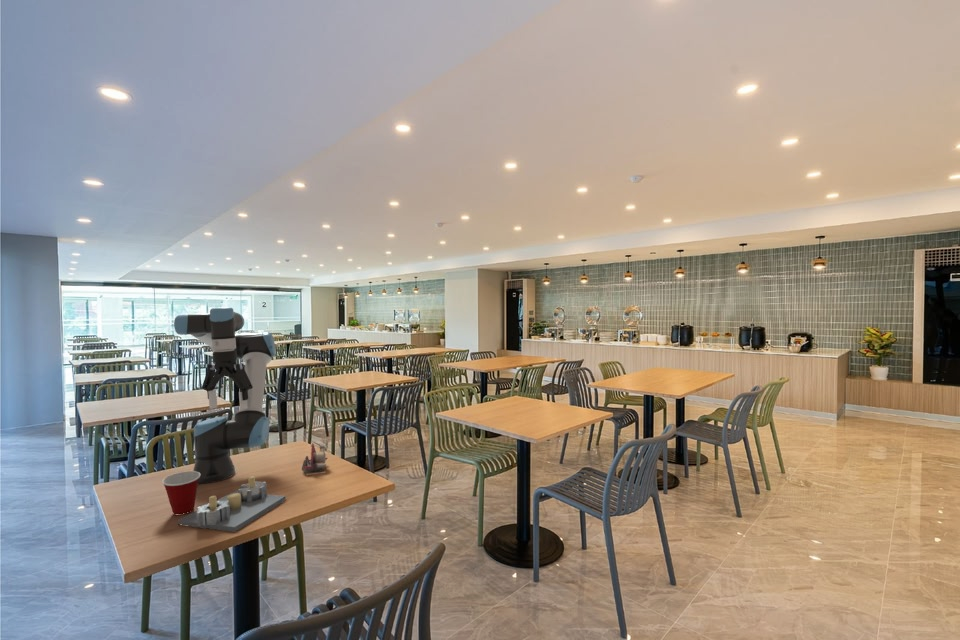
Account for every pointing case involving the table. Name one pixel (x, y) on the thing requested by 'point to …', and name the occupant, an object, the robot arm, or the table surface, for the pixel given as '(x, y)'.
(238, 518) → the plate
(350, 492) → the table surface
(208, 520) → the planet gear
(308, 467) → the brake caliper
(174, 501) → the plastic cup
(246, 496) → the seated gear
